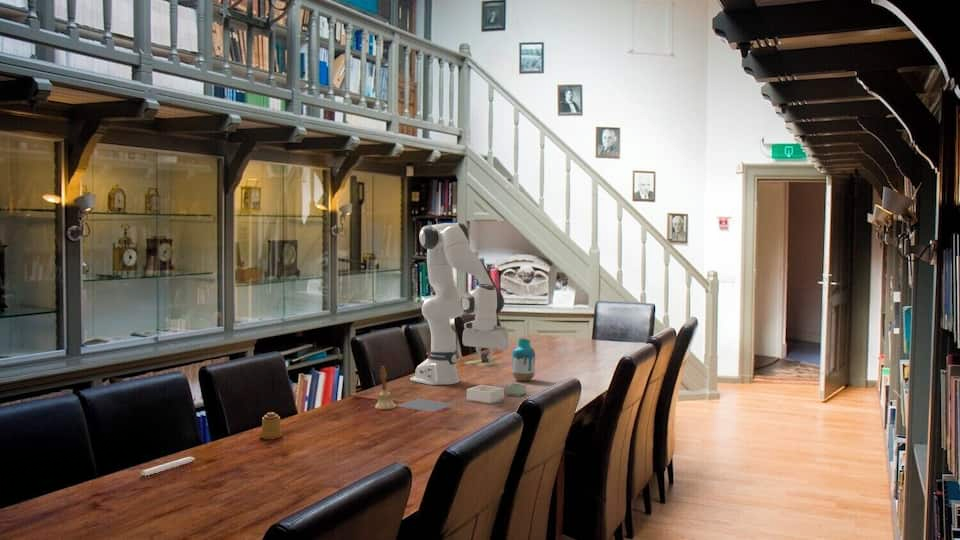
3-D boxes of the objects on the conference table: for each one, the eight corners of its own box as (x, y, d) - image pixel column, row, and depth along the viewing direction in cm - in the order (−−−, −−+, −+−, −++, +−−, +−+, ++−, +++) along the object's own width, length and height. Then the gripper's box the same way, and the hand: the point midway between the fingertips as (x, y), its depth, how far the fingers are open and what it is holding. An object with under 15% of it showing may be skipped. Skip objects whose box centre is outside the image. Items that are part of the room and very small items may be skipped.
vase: (535, 383, 365) (536, 341, 364) (511, 382, 365) (512, 340, 364) (534, 378, 376) (535, 337, 374) (511, 378, 376) (512, 337, 375)
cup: (506, 394, 339) (506, 385, 339) (513, 392, 344) (513, 383, 344) (518, 396, 336) (518, 387, 336) (525, 394, 341) (525, 384, 341)
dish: (466, 401, 325) (466, 389, 325) (481, 396, 335) (481, 384, 334) (489, 405, 320) (490, 392, 319) (504, 400, 329) (504, 387, 329)
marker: (192, 461, 240) (192, 453, 240) (197, 462, 239) (197, 454, 239) (140, 477, 225) (140, 469, 225) (145, 478, 224) (145, 470, 224)
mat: (394, 406, 314) (394, 405, 314) (418, 399, 327) (418, 398, 327) (432, 413, 304) (432, 411, 304) (455, 405, 318) (455, 404, 318)
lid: (464, 364, 324) (464, 354, 324) (480, 360, 334) (480, 350, 334) (489, 367, 318) (490, 357, 318) (505, 363, 328) (505, 353, 328)
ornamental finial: (283, 439, 265) (259, 440, 263) (282, 433, 273) (259, 434, 271) (283, 415, 265) (259, 416, 263) (282, 410, 272) (259, 411, 270)
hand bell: (392, 409, 308) (390, 368, 306) (371, 409, 309) (369, 368, 308) (399, 404, 316) (396, 364, 314) (378, 404, 317) (376, 364, 316)
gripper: (512, 326, 322) (511, 360, 323) (469, 322, 333) (468, 355, 334) (504, 327, 317) (503, 362, 318) (460, 323, 328) (460, 357, 329)
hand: (485, 358), depth 326 cm, fingers closed on lid, 3 cm apart
